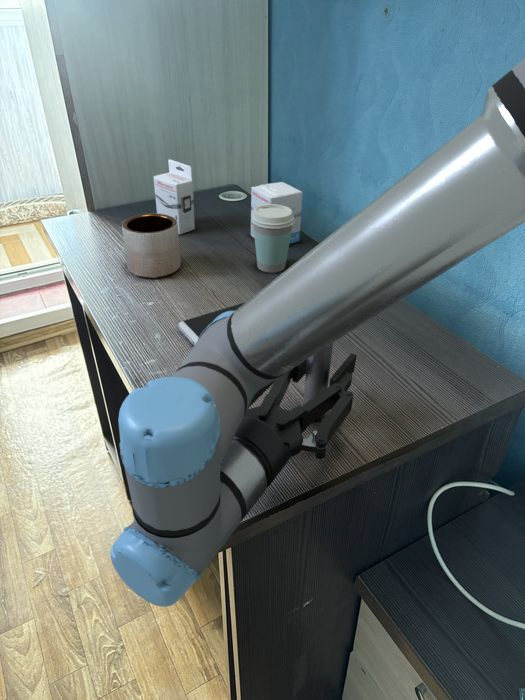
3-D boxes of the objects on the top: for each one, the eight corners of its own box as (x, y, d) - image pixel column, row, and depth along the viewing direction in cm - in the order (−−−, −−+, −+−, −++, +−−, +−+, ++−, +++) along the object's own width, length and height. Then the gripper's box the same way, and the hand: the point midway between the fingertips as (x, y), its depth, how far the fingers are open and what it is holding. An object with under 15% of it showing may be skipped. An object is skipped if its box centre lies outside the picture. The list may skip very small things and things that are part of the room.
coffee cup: (299, 264, 109) (302, 208, 102) (278, 279, 103) (280, 222, 96) (264, 254, 113) (266, 200, 106) (242, 268, 107) (242, 212, 100)
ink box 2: (300, 241, 119) (304, 191, 112) (268, 249, 115) (270, 197, 108) (280, 229, 125) (282, 180, 118) (249, 235, 121) (250, 185, 114)
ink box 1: (157, 225, 125) (150, 162, 116) (173, 219, 128) (168, 158, 119) (179, 235, 120) (175, 170, 112) (196, 229, 123) (192, 166, 115)
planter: (134, 283, 100) (128, 237, 95) (122, 261, 108) (115, 217, 103) (188, 274, 104) (185, 228, 99) (172, 252, 112) (168, 209, 107)
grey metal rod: (328, 415, 71) (338, 336, 64) (316, 427, 69) (325, 347, 62) (309, 406, 72) (317, 328, 65) (297, 417, 71) (304, 338, 63)
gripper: (176, 455, 60) (278, 357, 76) (311, 526, 53) (392, 400, 69) (171, 407, 56) (280, 313, 72) (317, 476, 48) (402, 354, 65)
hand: (334, 356), depth 70 cm, fingers open, 4 cm apart
